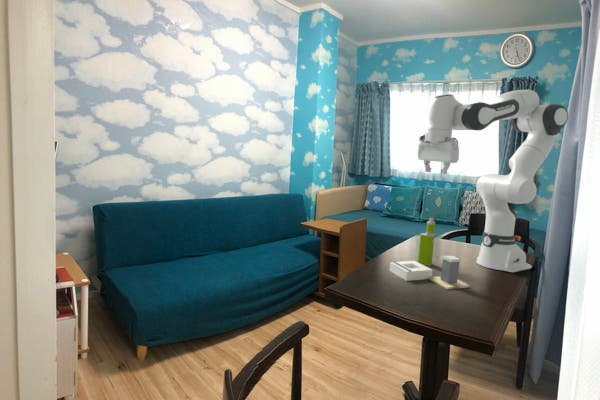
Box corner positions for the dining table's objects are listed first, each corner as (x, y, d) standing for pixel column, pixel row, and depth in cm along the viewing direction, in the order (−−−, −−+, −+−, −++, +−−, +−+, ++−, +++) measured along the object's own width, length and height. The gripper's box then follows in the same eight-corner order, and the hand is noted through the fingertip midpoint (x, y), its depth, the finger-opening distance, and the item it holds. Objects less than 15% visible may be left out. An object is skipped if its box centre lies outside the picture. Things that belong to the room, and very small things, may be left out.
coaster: (450, 277, 146) (450, 275, 145) (469, 287, 136) (469, 285, 136) (428, 279, 142) (428, 277, 142) (446, 289, 133) (447, 287, 133)
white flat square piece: (413, 269, 154) (414, 259, 153) (431, 278, 143) (432, 269, 143) (389, 270, 150) (390, 261, 149) (406, 280, 140) (407, 270, 139)
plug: (449, 278, 142) (452, 255, 140) (457, 282, 138) (460, 258, 136) (440, 279, 140) (442, 256, 139) (448, 283, 136) (450, 259, 135)
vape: (429, 266, 158) (434, 219, 155) (416, 262, 162) (420, 216, 159) (433, 264, 161) (438, 218, 158) (419, 260, 165) (424, 215, 162)
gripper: (465, 137, 138) (461, 175, 140) (429, 137, 157) (426, 171, 159) (451, 137, 136) (447, 175, 138) (416, 137, 155) (413, 170, 157)
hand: (435, 173), depth 149 cm, fingers open, 8 cm apart
